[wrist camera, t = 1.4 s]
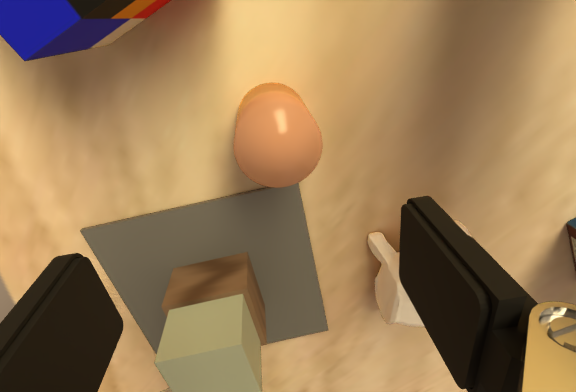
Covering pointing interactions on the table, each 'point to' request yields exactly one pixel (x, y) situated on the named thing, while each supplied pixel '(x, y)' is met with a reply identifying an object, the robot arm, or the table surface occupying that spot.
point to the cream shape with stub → (393, 283)
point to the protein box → (572, 237)
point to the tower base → (217, 286)
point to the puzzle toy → (69, 24)
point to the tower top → (211, 348)
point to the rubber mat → (217, 256)
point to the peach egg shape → (276, 136)
